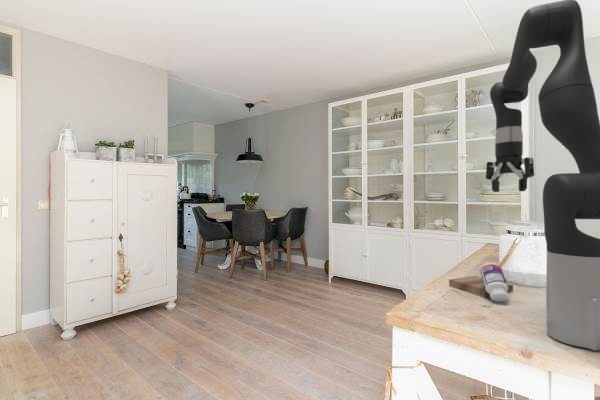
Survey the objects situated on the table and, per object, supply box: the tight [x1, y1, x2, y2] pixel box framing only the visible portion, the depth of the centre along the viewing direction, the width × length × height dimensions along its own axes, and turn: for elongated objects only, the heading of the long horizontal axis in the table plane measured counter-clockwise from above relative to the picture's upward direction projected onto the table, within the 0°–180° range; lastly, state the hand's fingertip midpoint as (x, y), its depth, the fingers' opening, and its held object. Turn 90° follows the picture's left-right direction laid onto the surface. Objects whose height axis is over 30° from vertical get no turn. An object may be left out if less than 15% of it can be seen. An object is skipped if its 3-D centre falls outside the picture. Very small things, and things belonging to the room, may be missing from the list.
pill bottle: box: [479, 262, 509, 303], centre depth 87 cm, size 5×5×10 cm
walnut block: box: [448, 275, 514, 299], centre depth 96 cm, size 12×12×3 cm
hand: (508, 191), depth 104 cm, fingers open, 8 cm apart
